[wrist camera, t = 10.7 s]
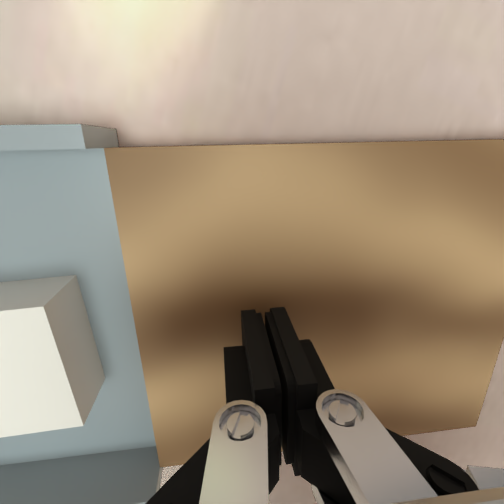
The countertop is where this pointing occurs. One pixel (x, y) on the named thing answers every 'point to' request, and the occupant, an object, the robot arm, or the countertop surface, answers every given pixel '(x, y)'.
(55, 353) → the tile
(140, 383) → the tray
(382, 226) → the board
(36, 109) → the countertop surface
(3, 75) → the countertop surface
